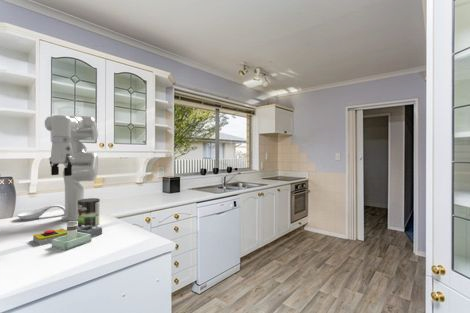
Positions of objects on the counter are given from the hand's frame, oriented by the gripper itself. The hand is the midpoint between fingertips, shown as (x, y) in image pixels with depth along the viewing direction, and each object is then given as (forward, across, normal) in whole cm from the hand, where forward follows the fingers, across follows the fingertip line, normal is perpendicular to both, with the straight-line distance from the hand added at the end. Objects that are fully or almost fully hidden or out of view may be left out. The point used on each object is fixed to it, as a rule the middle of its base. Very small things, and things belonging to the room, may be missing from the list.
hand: (61, 175), depth 119 cm
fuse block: (+28, -15, -3) cm, 32 cm away
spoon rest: (+29, +40, -14) cm, 51 cm away
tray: (+28, -20, +8) cm, 36 cm away
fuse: (+28, -20, +8) cm, 35 cm away
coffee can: (+28, -2, -13) cm, 31 cm away
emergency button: (+29, -6, +8) cm, 31 cm away
